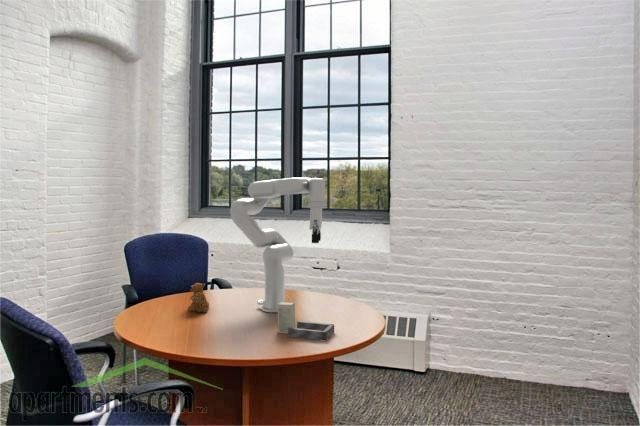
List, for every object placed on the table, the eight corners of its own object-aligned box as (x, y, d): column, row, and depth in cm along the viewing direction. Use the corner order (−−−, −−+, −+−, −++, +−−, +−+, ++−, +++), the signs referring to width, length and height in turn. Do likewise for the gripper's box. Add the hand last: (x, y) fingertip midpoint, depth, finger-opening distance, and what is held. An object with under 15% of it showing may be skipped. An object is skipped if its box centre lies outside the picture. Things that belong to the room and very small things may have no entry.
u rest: (287, 336, 210) (287, 328, 209) (298, 328, 221) (298, 320, 221) (325, 341, 205) (325, 332, 205) (334, 332, 216) (334, 324, 216)
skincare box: (295, 331, 217) (295, 302, 216) (291, 334, 213) (291, 305, 212) (281, 330, 219) (281, 301, 219) (277, 332, 215) (277, 303, 214)
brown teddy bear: (207, 306, 258) (207, 280, 258) (213, 313, 245) (213, 285, 245) (186, 308, 254) (186, 281, 254) (191, 315, 241) (191, 287, 241)
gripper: (310, 203, 248) (310, 239, 249) (306, 205, 231) (306, 243, 232) (326, 204, 248) (325, 239, 249) (323, 205, 230) (322, 244, 232)
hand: (316, 241), depth 240 cm, fingers open, 9 cm apart
